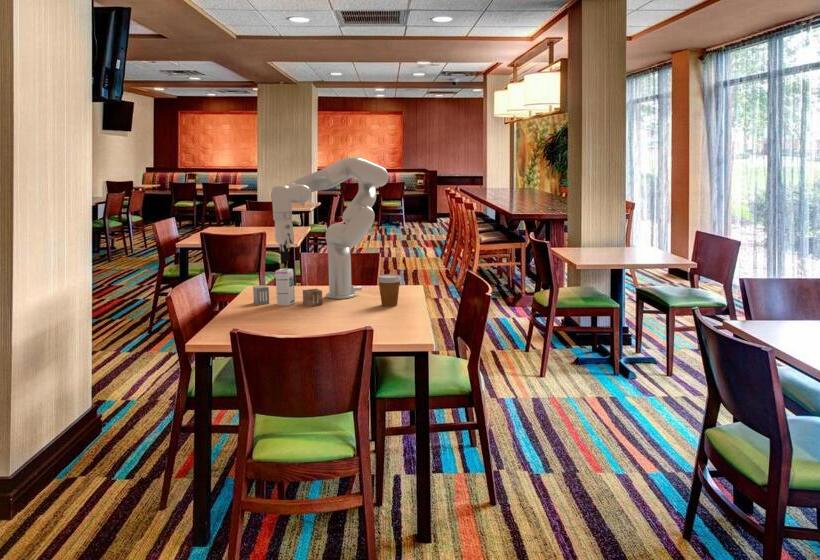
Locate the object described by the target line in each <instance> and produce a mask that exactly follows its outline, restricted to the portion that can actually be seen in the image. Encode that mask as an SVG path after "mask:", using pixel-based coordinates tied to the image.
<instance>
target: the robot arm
mask: <svg viewBox="0 0 820 560" xmlns="http://www.w3.org/2000/svg"><path fill="white" fill-rule="evenodd" d="M352 178H354V179H357V184H358V191H357V193H356V195H355V197H354V198H353V199H352V201H351V202H350V203H349V204H348V206H346V209H345V210H344V211H343V213H342V221H343V222H344V223H341V222H340V223H337V222H336V223H333V224H330V225H329V226H328V227H327V229H326V231H325V242H326V247H327V253H328V254H327V256H328V259H327V260H328V261H327V263H328V289H329V292H326V294H325V298H327V299H335V300H337V299H338V300H342V299H343V300H344V299H350V298H354V297H355V296H356V293H355V292H359V291H362V289H363V287H362V286H361V285H359V286H357V285H356V286H355V285H353V284H352V256H351V255H352V254H351V249H350V248H353V247H356V246H358V244H359V243H361V241H362V240H363V238H364V237H365V236H366V234H367V233H368V232H369V230H370V229H371V228H372V226H373V224H374V223H375V216H376V215H375V211H374V210H373V206H374V205H375V203H376V200H377V188H379V187H380V188H381V187H384V186H385V185H387V183H388V181H389V178H390V177H389V173H388V171H387V169H386V168H385V167H383V166H380V165H378V164H375V163H373V162H371V161H368V159H367V160H366V159H364V158H361V157H345V158H342V159H340V160H338V161H336V162H334V163H332V164H330V165H328V166H326V167H324V168H322V169H320V170H317V171H314V172H312V173H309V174H305V175H304V176H302V177H299V178H297V179H294V180H293V181H291V182H289V183H287V184H286V185H285V184H283V185H282V184H281V185H274V186H272V188H271V199H272V200H271V201H272V216H273V217H272V219H273V221H274V239H275V242H276V243H277V244H278V246H279V251H280V252H279V255H280V261H281V262H283V263H284V262H285V263H286V262H289V261H290V260H291V258H290V248H291V245H294V244H295V235H294V233H295V232H294V226H293V221H292V220H293V212H292V211H293V209H292V207H293V206H292V203H299V204H303V203H306V202H308V201H309V200H310V199H311V197H312V193H313V192H318V191H319V192H320V191H325V190H330V189H332V188H334V187H336V186H338V185H339V184H341V183H343V182H345V181H347V180H349V179H352Z"/></svg>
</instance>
